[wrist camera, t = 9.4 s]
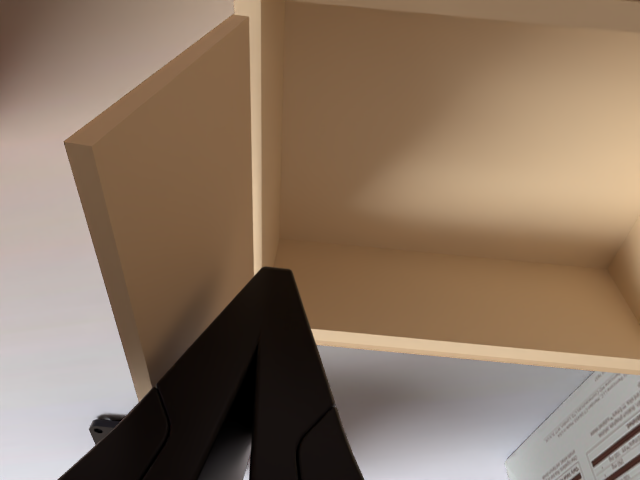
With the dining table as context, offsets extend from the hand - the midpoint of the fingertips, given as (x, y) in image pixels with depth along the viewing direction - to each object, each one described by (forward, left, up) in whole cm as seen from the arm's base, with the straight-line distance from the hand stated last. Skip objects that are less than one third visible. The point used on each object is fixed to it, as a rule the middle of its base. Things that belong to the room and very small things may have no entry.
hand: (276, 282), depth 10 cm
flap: (0, +1, 0) cm, 1 cm away
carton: (0, -5, -7) cm, 9 cm away
